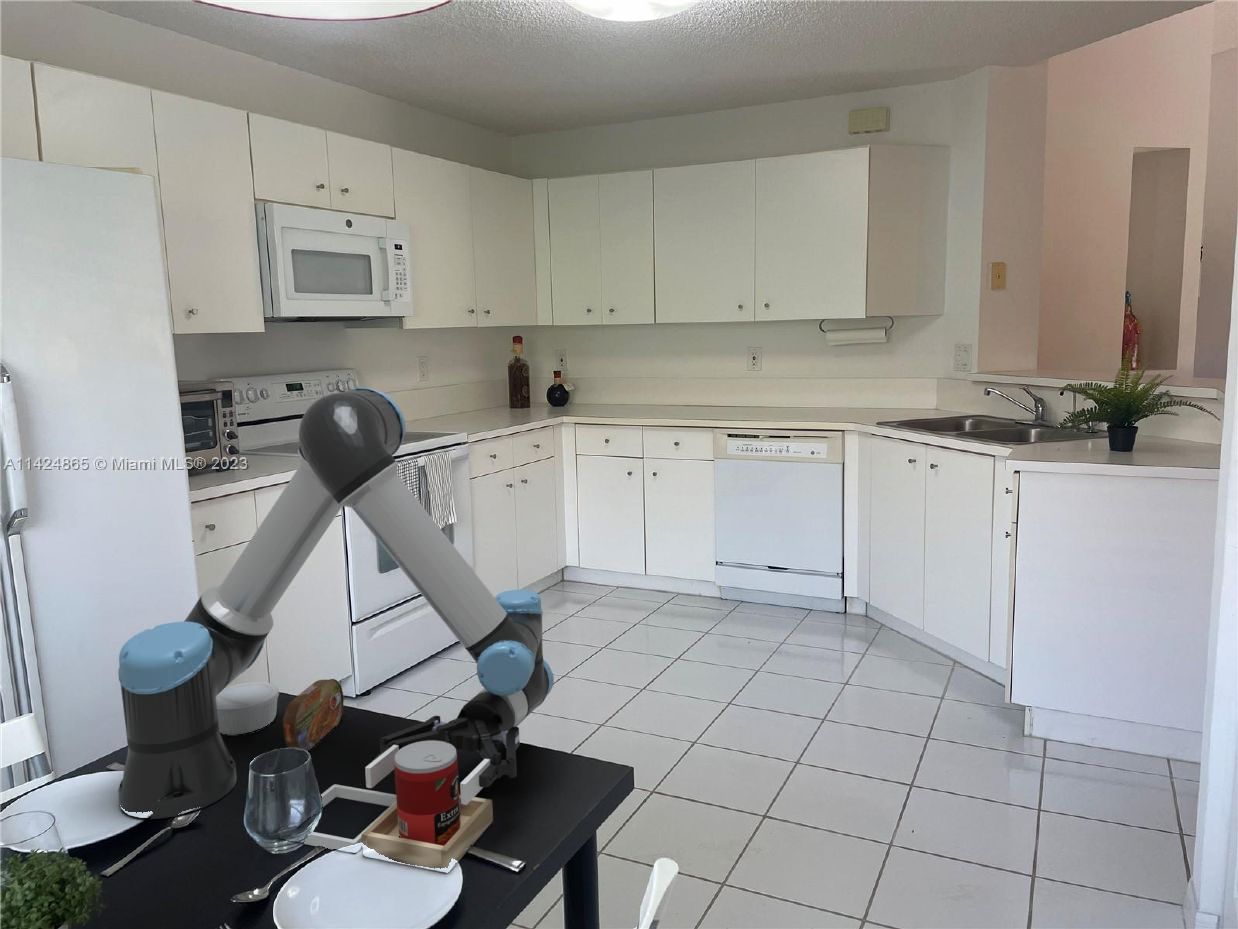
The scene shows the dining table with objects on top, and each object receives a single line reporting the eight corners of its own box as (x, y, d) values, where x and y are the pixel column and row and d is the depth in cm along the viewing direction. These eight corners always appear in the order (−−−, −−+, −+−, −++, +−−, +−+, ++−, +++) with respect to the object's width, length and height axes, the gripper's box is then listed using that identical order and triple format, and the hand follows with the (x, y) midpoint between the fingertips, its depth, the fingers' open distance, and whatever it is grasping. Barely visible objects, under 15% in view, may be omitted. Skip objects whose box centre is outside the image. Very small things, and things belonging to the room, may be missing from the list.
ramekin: (196, 740, 142) (193, 709, 141) (225, 711, 153) (223, 682, 152) (266, 738, 142) (263, 707, 141) (290, 709, 153) (287, 680, 152)
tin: (300, 760, 134) (296, 709, 133) (281, 759, 135) (277, 707, 133) (346, 718, 149) (343, 671, 147) (329, 717, 149) (326, 670, 148)
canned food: (447, 854, 108) (443, 771, 106) (388, 847, 109) (382, 765, 108) (470, 820, 115) (466, 742, 114) (414, 814, 117) (409, 737, 115)
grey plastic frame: (279, 839, 113) (278, 828, 113) (335, 794, 124) (334, 784, 124) (355, 854, 109) (354, 843, 109) (406, 806, 120) (405, 796, 120)
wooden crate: (362, 856, 109) (361, 834, 108) (414, 807, 120) (413, 786, 119) (447, 873, 105) (446, 851, 104) (493, 821, 116) (492, 800, 116)
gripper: (571, 750, 125) (506, 830, 105) (419, 728, 133) (332, 798, 113) (570, 700, 124) (504, 772, 104) (417, 681, 132) (328, 744, 112)
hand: (414, 786), depth 108 cm, fingers open, 13 cm apart
